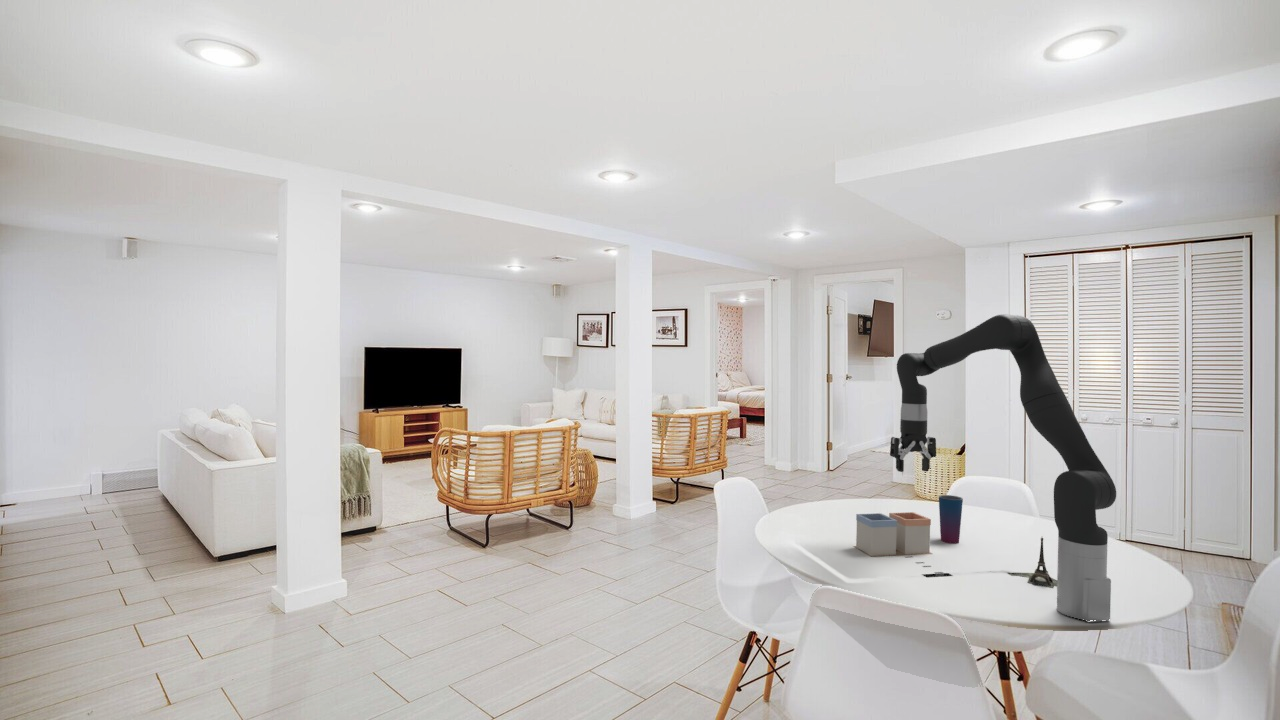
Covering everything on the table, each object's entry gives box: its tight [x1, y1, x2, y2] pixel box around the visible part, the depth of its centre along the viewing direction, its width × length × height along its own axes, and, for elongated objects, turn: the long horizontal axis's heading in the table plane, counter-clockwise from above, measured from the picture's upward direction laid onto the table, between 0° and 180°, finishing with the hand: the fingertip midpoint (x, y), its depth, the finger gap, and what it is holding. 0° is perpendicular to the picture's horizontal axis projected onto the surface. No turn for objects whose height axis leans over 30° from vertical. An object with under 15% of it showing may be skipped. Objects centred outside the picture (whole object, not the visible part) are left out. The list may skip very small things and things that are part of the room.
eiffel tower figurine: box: [1007, 537, 1057, 589], centre depth 162 cm, size 15×10×13 cm
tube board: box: [852, 545, 933, 558], centre depth 184 cm, size 10×20×1 cm, turn 101°
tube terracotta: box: [888, 511, 932, 554], centre depth 185 cm, size 8×8×10 cm
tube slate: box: [855, 512, 897, 556], centre depth 183 cm, size 8×8×10 cm
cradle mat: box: [905, 555, 954, 578], centre depth 171 cm, size 14×8×1 cm, turn 11°
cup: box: [938, 494, 964, 544], centre depth 194 cm, size 7×7×15 cm
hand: (912, 471), depth 188 cm, fingers open, 8 cm apart
